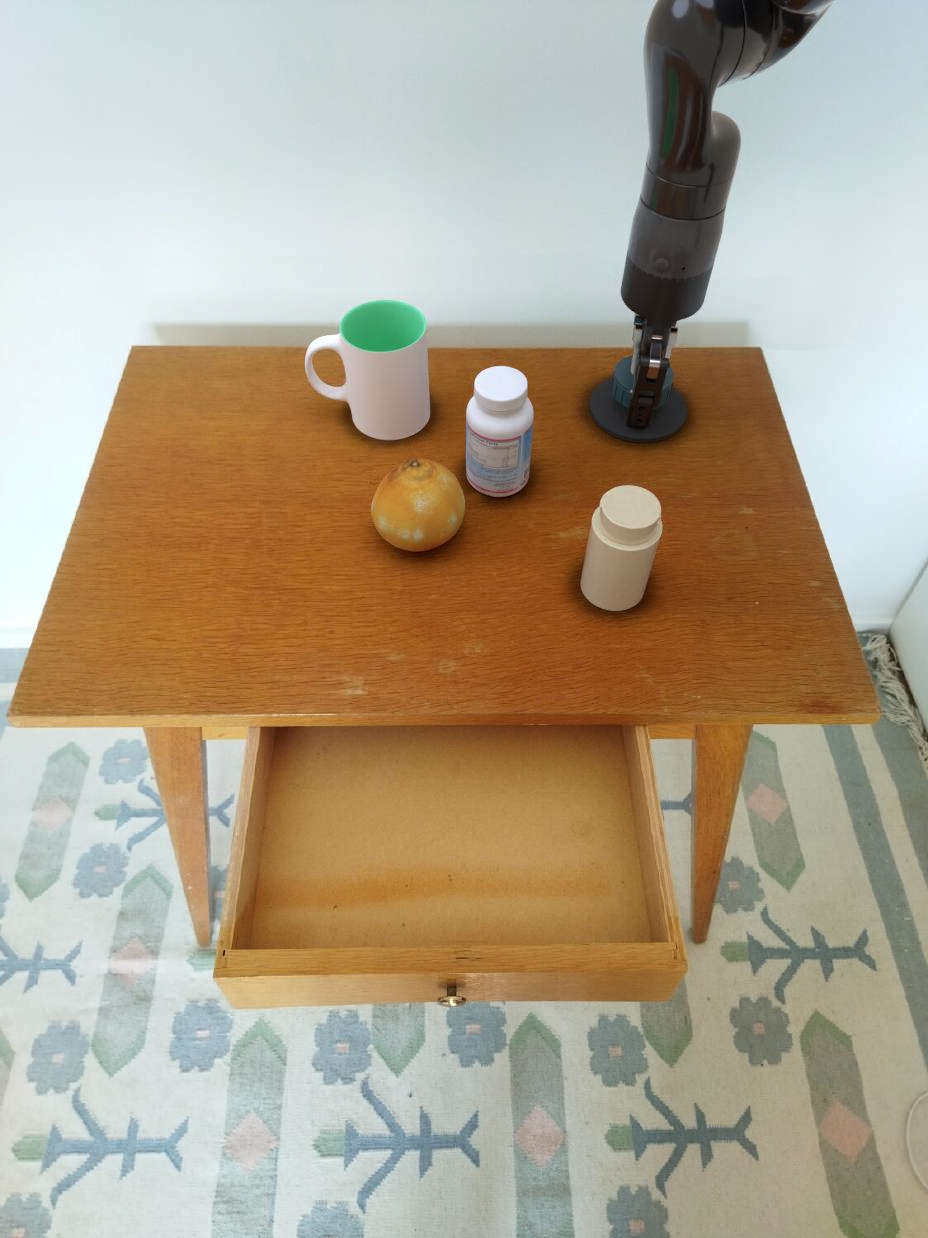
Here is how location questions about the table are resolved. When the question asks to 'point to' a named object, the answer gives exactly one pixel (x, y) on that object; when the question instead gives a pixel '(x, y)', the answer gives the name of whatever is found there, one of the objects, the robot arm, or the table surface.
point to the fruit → (418, 505)
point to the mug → (380, 368)
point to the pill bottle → (499, 432)
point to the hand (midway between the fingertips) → (638, 404)
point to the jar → (621, 547)
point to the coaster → (615, 415)
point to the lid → (624, 383)
